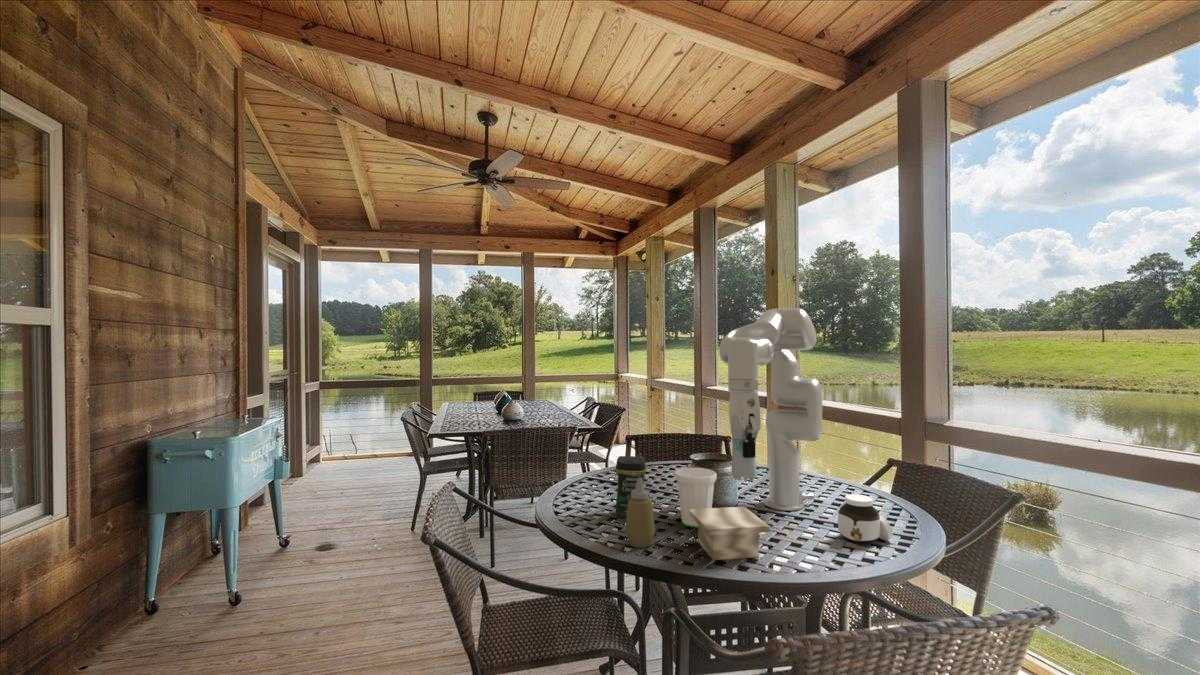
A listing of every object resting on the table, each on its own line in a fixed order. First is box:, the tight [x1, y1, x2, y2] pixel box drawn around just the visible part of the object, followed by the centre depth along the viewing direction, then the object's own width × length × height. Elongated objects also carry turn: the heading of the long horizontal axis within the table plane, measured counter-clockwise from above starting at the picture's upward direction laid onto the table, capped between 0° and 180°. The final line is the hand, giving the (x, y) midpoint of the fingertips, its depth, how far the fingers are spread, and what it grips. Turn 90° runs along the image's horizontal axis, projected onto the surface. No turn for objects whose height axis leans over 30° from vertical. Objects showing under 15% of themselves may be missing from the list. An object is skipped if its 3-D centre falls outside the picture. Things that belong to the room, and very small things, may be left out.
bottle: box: [730, 415, 757, 482], centre depth 142 cm, size 7×7×20 cm
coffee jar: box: [615, 455, 647, 519], centre depth 172 cm, size 10×8×19 cm
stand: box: [689, 506, 770, 561], centre depth 143 cm, size 16×16×8 cm
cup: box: [674, 467, 718, 529], centre depth 164 cm, size 12×12×15 cm
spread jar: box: [837, 493, 894, 546], centre depth 150 cm, size 12×11×12 cm
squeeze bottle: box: [624, 478, 656, 549], centre depth 148 cm, size 8×8×18 cm
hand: (743, 453), depth 142 cm, fingers closed on bottle, 5 cm apart
